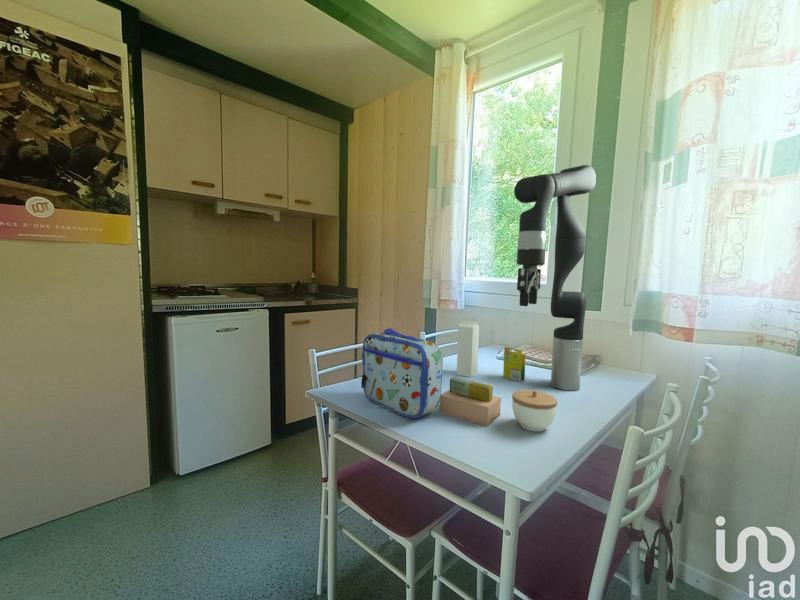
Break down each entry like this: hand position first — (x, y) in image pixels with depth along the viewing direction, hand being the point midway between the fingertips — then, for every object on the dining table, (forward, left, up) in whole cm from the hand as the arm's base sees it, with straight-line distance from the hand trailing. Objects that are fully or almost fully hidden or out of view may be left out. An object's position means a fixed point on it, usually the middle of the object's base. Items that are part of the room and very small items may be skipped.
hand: (528, 304), depth 101 cm
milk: (-19, -27, -30) cm, 45 cm away
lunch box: (+24, -29, -30) cm, 48 cm away
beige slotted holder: (+15, -10, -30) cm, 35 cm away
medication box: (+15, -10, -25) cm, 31 cm away
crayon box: (-25, -11, -30) cm, 41 cm away
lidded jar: (+12, +6, -30) cm, 33 cm away
